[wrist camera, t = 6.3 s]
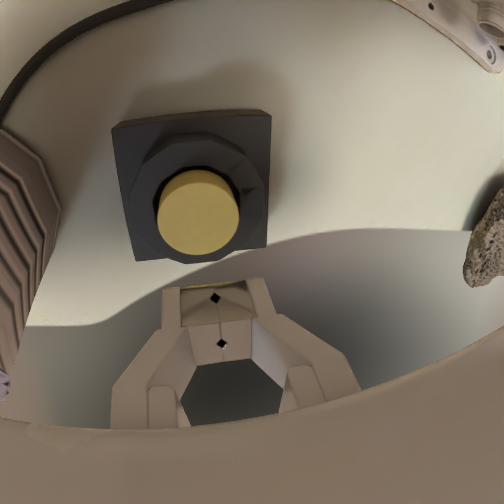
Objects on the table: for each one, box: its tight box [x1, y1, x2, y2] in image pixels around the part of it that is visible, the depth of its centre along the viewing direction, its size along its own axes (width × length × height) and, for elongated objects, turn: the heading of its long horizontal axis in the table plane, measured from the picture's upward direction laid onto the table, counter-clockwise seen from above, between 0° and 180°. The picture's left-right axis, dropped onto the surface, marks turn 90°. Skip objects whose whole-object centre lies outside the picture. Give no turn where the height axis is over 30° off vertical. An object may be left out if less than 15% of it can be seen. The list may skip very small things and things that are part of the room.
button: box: [157, 170, 239, 255], centre depth 13 cm, size 4×4×2 cm
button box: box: [111, 110, 272, 264], centre depth 15 cm, size 8×8×4 cm
